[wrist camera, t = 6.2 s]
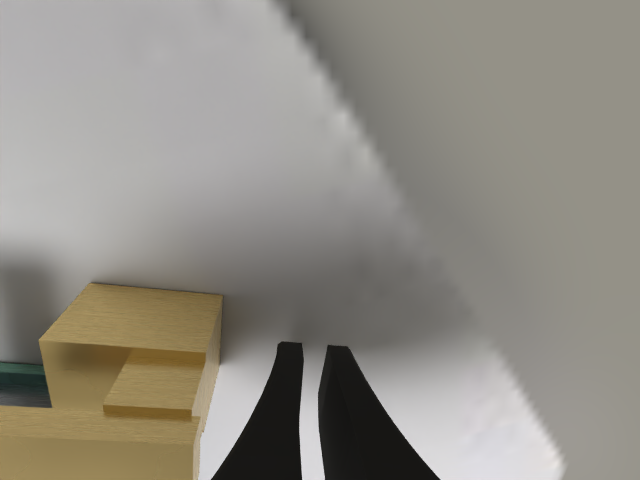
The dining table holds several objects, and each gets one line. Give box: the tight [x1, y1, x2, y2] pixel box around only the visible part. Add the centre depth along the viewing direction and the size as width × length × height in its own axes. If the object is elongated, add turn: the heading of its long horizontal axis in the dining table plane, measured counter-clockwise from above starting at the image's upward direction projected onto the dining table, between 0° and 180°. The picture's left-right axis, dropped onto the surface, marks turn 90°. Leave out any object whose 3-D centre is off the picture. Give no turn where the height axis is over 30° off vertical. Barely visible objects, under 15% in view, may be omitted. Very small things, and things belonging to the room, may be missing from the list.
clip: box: [0, 283, 223, 480], centre depth 10 cm, size 3×5×5 cm, turn 81°
